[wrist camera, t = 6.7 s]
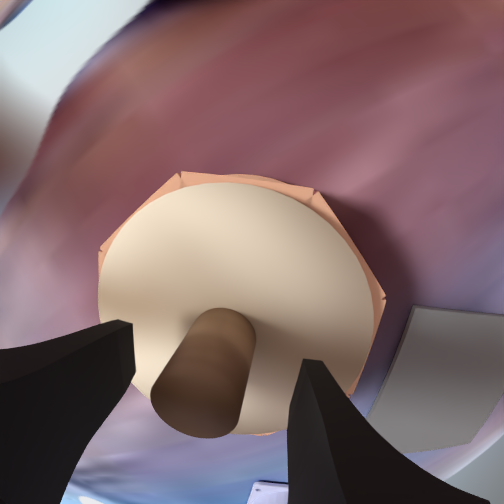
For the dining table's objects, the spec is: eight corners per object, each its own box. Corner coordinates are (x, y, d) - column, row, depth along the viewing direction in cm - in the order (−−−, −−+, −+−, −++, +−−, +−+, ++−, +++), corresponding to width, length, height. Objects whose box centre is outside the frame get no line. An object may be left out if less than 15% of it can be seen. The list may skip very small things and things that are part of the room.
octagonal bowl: (327, 402, 15) (332, 445, 12) (136, 365, 16) (110, 397, 13) (383, 198, 13) (413, 203, 9) (139, 164, 14) (99, 161, 10)
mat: (468, 440, 15) (469, 442, 15) (347, 452, 16) (347, 455, 16) (535, 317, 12) (538, 319, 12) (412, 304, 13) (415, 307, 13)
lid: (339, 431, 12) (348, 506, 7) (125, 402, 13) (85, 460, 8) (389, 194, 9) (458, 205, 5) (97, 183, 10) (11, 191, 6)
